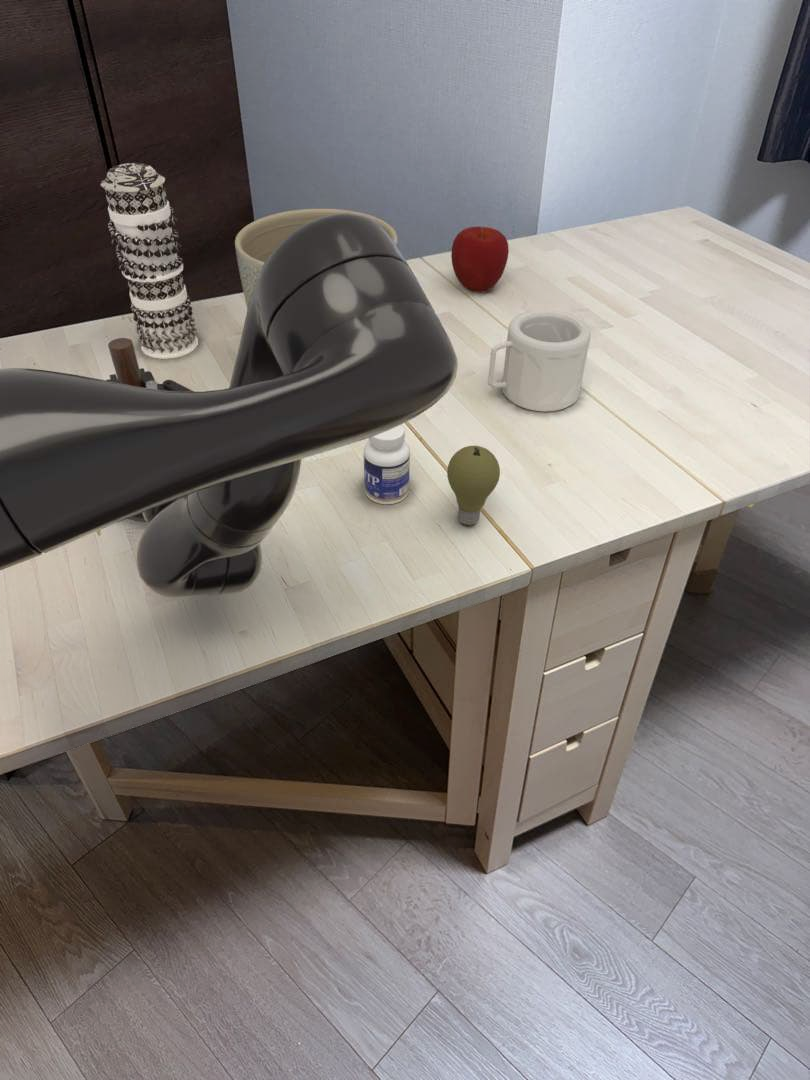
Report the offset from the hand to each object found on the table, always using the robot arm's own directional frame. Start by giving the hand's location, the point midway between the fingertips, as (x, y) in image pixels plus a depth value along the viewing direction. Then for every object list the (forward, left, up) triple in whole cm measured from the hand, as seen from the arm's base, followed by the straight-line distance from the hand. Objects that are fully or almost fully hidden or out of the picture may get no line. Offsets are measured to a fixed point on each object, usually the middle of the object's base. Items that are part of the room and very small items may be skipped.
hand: (128, 378), depth 88 cm
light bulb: (+22, -37, -9) cm, 44 cm away
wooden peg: (-1, -3, -8) cm, 9 cm away
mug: (+47, -22, -9) cm, 53 cm away
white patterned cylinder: (+13, +21, -9) cm, 27 cm away
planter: (+28, +1, -9) cm, 30 cm away
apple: (+64, +8, -9) cm, 66 cm away
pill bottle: (+18, -27, -9) cm, 34 cm away
